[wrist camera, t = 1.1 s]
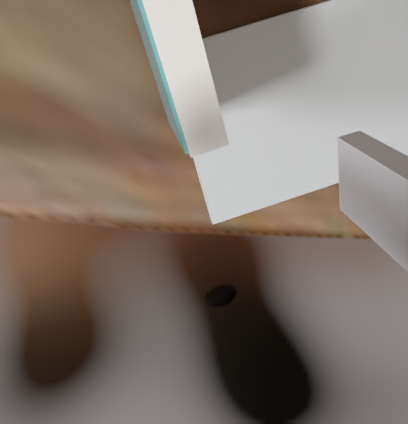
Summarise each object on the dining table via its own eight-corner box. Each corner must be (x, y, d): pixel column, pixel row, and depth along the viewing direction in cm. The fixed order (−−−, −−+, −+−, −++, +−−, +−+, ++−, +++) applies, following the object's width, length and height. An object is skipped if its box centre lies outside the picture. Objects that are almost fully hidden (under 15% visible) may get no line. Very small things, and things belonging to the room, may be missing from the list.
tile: (108, -64, 23) (100, -118, 15) (146, -75, 23) (157, -135, 15) (169, 124, 28) (187, 158, 20) (199, 114, 29) (229, 144, 21)
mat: (162, 50, 27) (163, 51, 26) (421, -29, 28) (427, -29, 27) (211, 221, 35) (212, 224, 34) (411, 154, 36) (416, 156, 35)
